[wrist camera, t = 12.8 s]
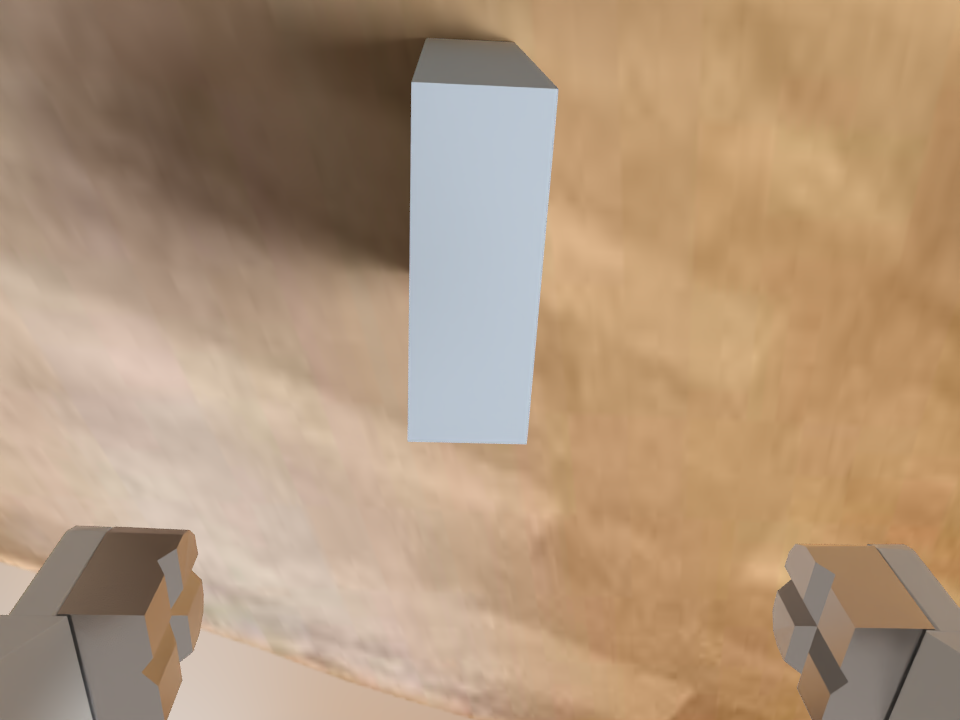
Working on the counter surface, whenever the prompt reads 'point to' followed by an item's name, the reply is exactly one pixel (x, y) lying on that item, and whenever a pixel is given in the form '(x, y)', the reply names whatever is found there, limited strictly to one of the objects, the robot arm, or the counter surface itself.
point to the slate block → (476, 238)
